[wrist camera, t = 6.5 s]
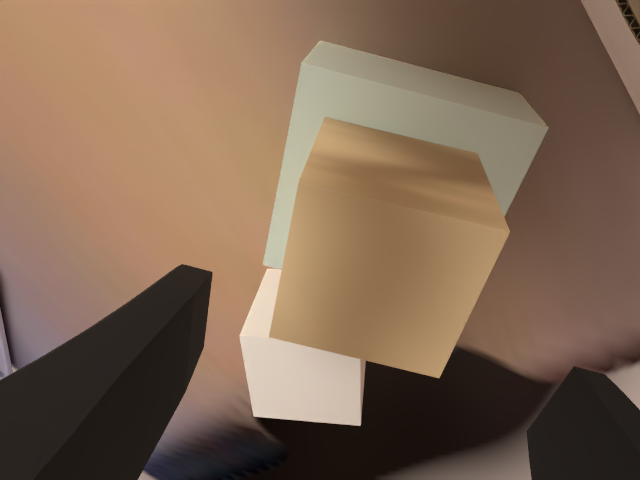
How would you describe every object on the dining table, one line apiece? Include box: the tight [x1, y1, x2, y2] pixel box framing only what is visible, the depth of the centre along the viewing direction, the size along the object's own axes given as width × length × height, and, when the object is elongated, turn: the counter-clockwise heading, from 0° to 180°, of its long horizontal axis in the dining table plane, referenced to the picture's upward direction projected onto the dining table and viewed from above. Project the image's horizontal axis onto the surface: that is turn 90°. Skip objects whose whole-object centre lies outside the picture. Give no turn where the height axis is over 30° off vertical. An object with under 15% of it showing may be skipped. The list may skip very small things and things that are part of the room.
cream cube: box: [240, 269, 366, 426], centre depth 21 cm, size 4×4×4 cm
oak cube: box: [269, 117, 510, 378], centre depth 13 cm, size 4×4×4 cm
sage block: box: [263, 40, 549, 270], centre depth 17 cm, size 7×7×4 cm
